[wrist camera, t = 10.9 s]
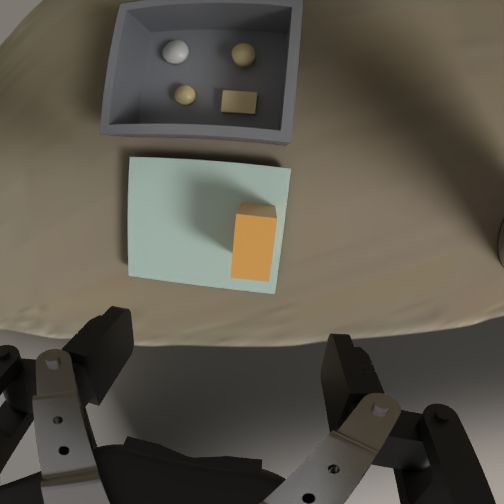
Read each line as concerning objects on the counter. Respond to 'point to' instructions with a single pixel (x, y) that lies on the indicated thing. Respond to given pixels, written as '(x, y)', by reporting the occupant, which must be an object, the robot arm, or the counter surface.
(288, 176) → the lid
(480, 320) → the counter surface
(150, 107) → the tub
